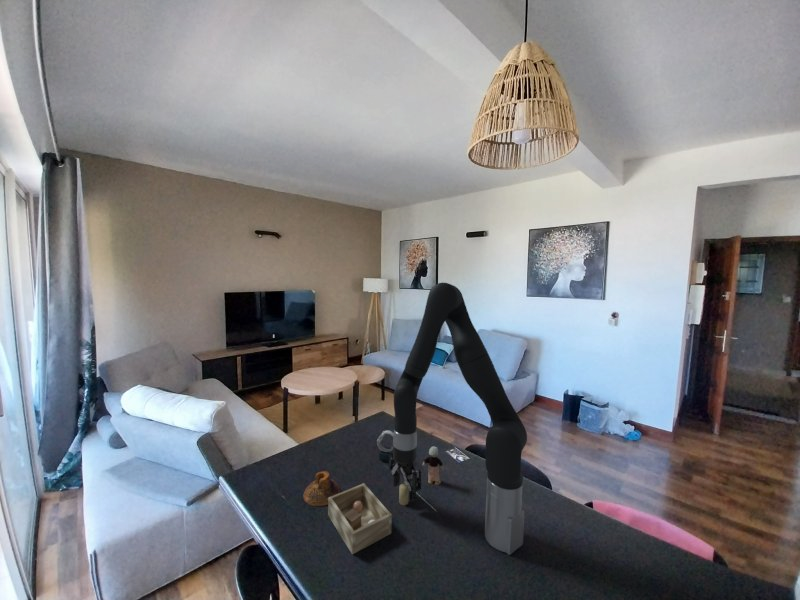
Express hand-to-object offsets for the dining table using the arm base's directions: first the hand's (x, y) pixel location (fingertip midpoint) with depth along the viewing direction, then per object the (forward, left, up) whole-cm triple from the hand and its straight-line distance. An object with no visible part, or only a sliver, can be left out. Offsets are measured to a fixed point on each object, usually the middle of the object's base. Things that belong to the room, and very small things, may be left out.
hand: (403, 492), depth 98 cm
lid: (0, 0, -4) cm, 4 cm away
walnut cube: (0, +18, -3) cm, 18 cm away
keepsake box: (0, +16, -4) cm, 16 cm away
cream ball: (-4, +14, -3) cm, 15 cm away
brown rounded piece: (+18, +20, -4) cm, 27 cm away
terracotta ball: (+5, +14, -3) cm, 15 cm away
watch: (+24, -9, -4) cm, 26 cm away
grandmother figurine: (+3, -15, -4) cm, 16 cm away
